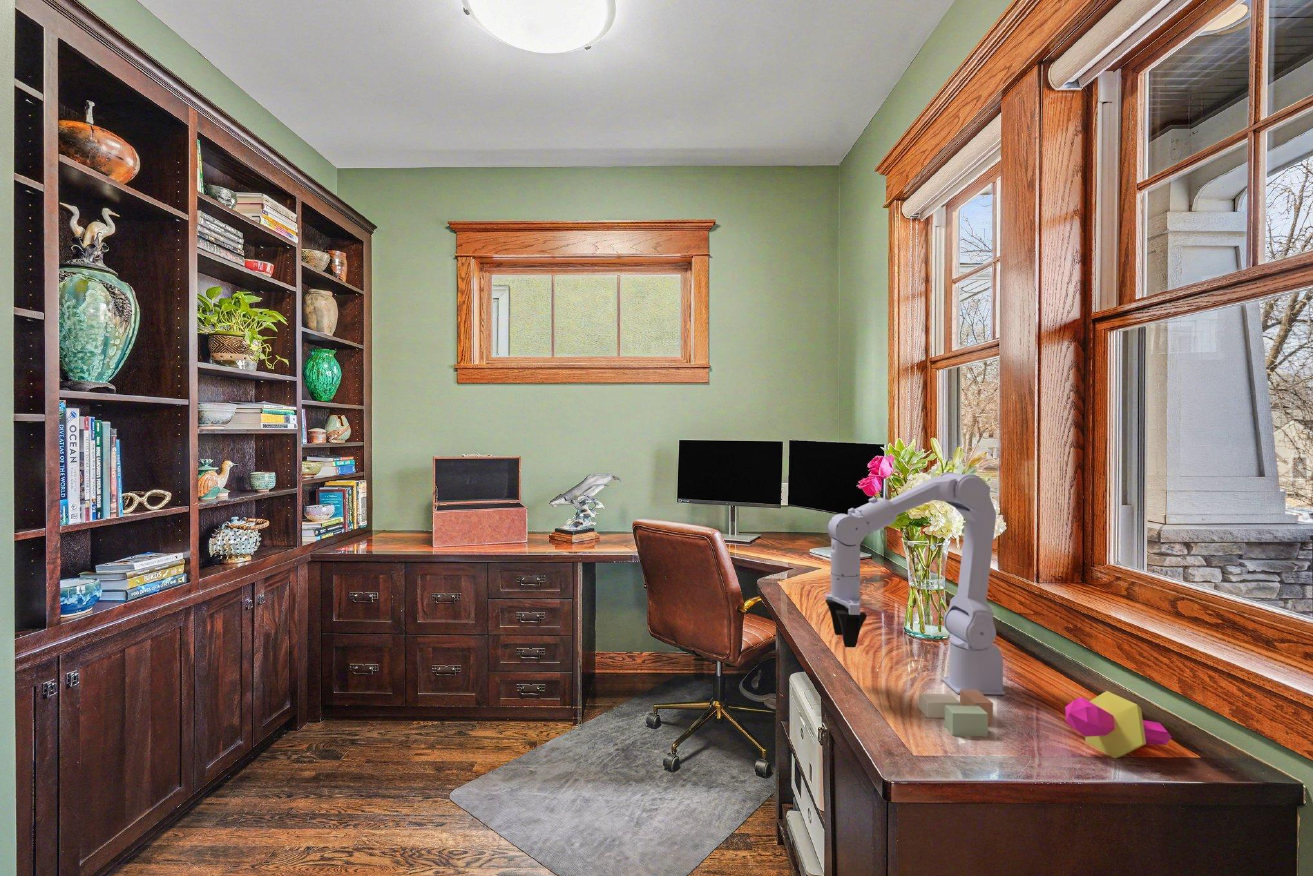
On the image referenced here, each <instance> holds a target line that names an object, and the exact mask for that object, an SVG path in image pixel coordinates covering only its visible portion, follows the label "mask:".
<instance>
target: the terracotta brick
mask: <svg viewBox="0 0 1313 876" xmlns="http://www.w3.org/2000/svg"><path fill="white" fill-rule="evenodd" d="M959 702H960V703H961V706H980V707H981V708H982V709H983V710H984V711H985V712H986V713H988V726H989V725H990V726H993V723H994V721H993V720H994V703H993V701H992V700H990V698H989V699H988V697H987V696H985V694H982V693H980V692H979V691H978V690H962V689H960V694H959Z"/></svg>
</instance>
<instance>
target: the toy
mask: <svg viewBox="0 0 1313 876" xmlns="http://www.w3.org/2000/svg"><path fill="white" fill-rule="evenodd" d="M1064 712H1065V722H1066V724H1067V725H1069V727H1071V728H1072V729H1073V730H1075V731H1077V732H1078V733H1080V734H1081V735H1082V736H1083V737H1084V739H1085V743H1086V744H1088V745H1090V746H1091V747H1093V748H1095V749H1098V750H1099V751H1101V752H1103V753H1105V754H1106V755H1107V756H1110V757H1111V758H1113V759H1119V758H1122V757H1124V756H1126V755H1127V754H1129V753H1131V752H1133V751H1135V750H1137V749H1139V748H1141V747H1143V746H1144V745H1155V746H1156V745H1158V746H1163V745H1165V746H1166V745H1168V742H1170V741H1171V739H1172V735H1171V734H1170V733H1169V732H1168V730H1166V728H1165V727H1164V725H1162V724H1161V722H1157V721H1156V722H1155V721H1151V720H1144V719H1143V713H1142V708H1141V706H1139V705H1138V704H1137V703H1134V702H1132V701H1131V700H1128V699H1126V698H1123V697H1121V696H1119V695H1117V694H1114V693H1112V692H1111V691H1108V690H1106V691H1104V692H1102V693H1101V694H1099V695H1096V697H1094V698H1093V699H1091V700H1090V701H1089V700H1087V699H1086V698H1084V697H1082V696H1081V697H1079V698H1076V699H1074V700H1073V701H1071V702H1070V703H1069V704H1067V705H1066V706H1065V707H1064Z"/></svg>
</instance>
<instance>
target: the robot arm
mask: <svg viewBox="0 0 1313 876" xmlns="http://www.w3.org/2000/svg"><path fill="white" fill-rule="evenodd" d="M932 501H940V502H945V503H946V504H948V505H949V506H952V507H953V508H955V510H956V511H958V513H960V515H961V516H962V517H963V518H964V519H965V522H964V523H965V524H964V531H963V532H964V533H963V540H962V550H961V559H960V568H959V575H958V584H957V593H956V594H955V595H954V596H953V597H952V598H951V599H950V600H949V606H948V608H947V610H946V612H945V614H944V616H943V625H944V628H945V630H946V631H947V632H948V633H949V637H948V638H949V654H948V655H949V656H948V657H949V661H948V662H949V663H948V664H949V666H948V667H949V669H948V670H949V671H948V673H949V675H948V676H941V681H943V682H944V683H945V684H946V685H947V686H948V687H949V688H950V689H952V690H953V692H955V693H956V694H958V695H960V689H962V690H978V691H979V692H980V693H982V694H983V695H998V696H999V695H1005V691H1004V659H1003V655H1002V652H1001V650H1000V648H999V647H998V646H997V645H995V644H993V643H994V641H995V640H996V636H997V630H996V626H995V623H994V612H993V610H992V608H991V606H990V604H989V603H988V601H987V597H988V590H989V582H990V581H989V580H990V573H991V562H992V554H993V547H994V539H995V538H994V537H995V529H996V528H995V527H996V522H997V521H996V520H997V512H996V509H995V506H994V503H993V501H992V498H991V486H989V484H988V483H986V481H984V479H983V478H981V477H980V476H978V475H976V474H963V473H955V472H952V471H947V472H943V473H941V474H940V475H935V476H931V477H930V478H929V479H927V480H924V482H921V483H920V484H918V485H916V486H913V487H912V488H909V489H908V490H905V491H904V492H902V493H900V494H898V495H896V496H894V497H891V498H890V499H886V498H884V497H879V498H877V497H874V496H873V497H870V498H869V499H868V503H865V504H863V505H860V506H859V507H856V508H854V507H851V508H849V509H848V510H847V514H846V513H838V514H835V515H833V516H832V517H831V519H830V520H829V522H828V525H826V532H827V534H828V536H829V537H830V542H831V543H830V593H825V594H824V599H825V603H826V606H827V607H828V610H829V612H830V616H831V621H832V622H831V623H832V626H833V627H832V628H833V632H834V634H835V636H842V643H843V645H844V648H856V647H857V645H858V644H857V643H858V641H859V640H858V639H859V636H860V632H861V628H862V626H863V624H864V622H865V621H866V619H867V616H868V615H867V613H866V612H863V611H861V603H862V602H861V601H862V596H861V543H862V542H863V540H864V539H865V537H866V536H868V535H870V534H873V533H875V532H878V531H880V530H883V528H886V527H888V526H890V525H893V524H894V523H895V522H896V519H897V517H898V515H899V514H903V513H904V512H906V511H909V510H913V509H914V508H917V507H919V506H922V505H924V504H927V503H929V502H932Z"/></svg>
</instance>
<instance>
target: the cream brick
mask: <svg viewBox="0 0 1313 876" xmlns="http://www.w3.org/2000/svg"><path fill="white" fill-rule="evenodd" d="M945 705H951V706H961V703H960V700H958V699H957V698H956V697H955V696H954V695H953V694H951V693H919V694H918V709H919V710H920V711H921V712H922V713H923V714H924V715H925V717H927V718H936V719H937V718H942V719H945Z"/></svg>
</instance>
